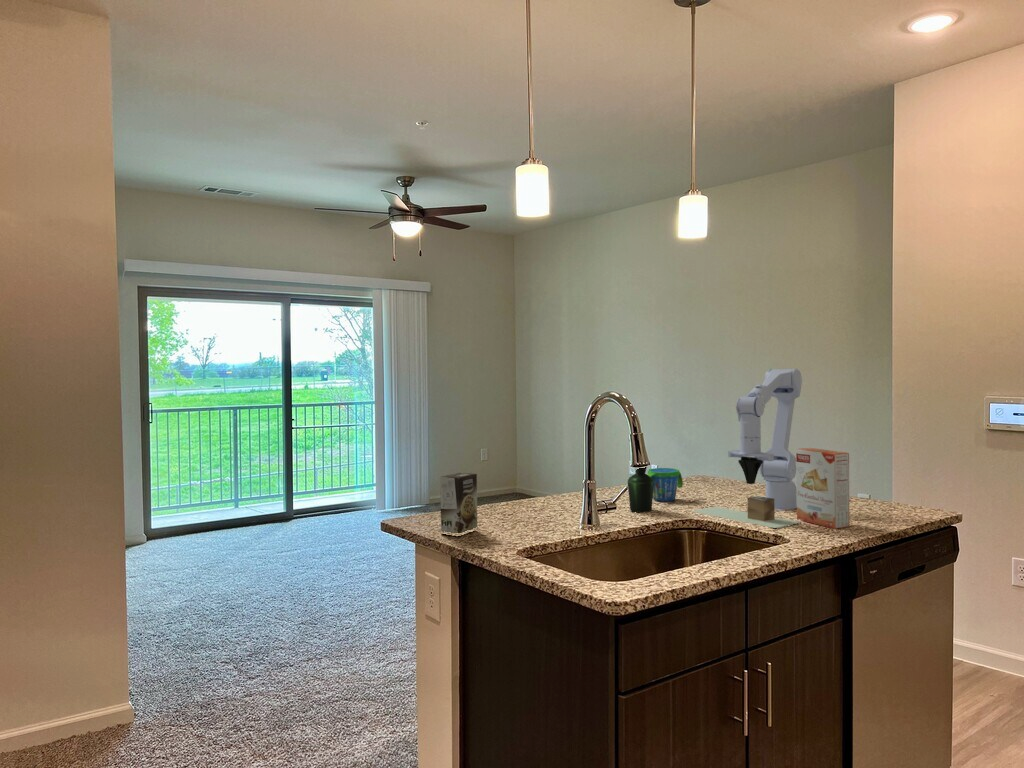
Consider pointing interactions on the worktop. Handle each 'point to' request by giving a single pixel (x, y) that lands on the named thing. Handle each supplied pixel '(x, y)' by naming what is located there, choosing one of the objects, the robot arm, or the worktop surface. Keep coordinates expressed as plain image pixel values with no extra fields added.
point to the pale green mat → (744, 517)
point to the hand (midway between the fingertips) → (750, 483)
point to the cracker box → (823, 487)
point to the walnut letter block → (761, 508)
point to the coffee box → (458, 502)
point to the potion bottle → (640, 491)
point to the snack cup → (665, 483)
